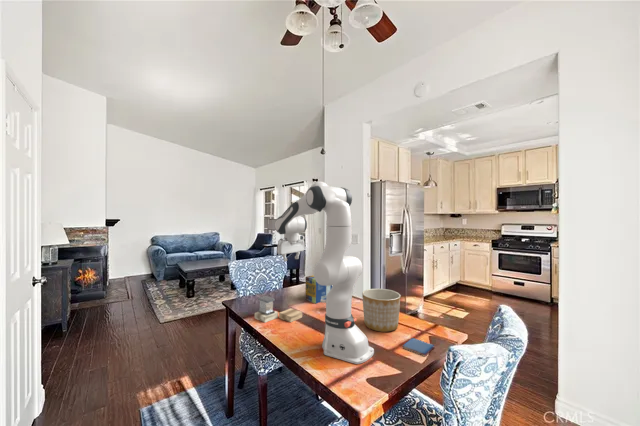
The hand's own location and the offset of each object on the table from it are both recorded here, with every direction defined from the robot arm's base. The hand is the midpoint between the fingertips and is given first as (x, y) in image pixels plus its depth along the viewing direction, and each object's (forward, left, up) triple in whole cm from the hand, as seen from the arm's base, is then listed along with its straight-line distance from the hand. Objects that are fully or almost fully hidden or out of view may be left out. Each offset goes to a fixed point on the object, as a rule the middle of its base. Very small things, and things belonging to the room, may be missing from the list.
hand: (291, 260), depth 166 cm
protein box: (-3, -23, -29) cm, 37 cm away
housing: (-1, +20, -26) cm, 33 cm away
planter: (-54, -12, -29) cm, 63 cm away
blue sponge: (-77, -1, -30) cm, 83 cm away
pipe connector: (-20, -12, -29) cm, 37 cm away
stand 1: (-1, +20, -29) cm, 35 cm away
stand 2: (-11, +11, -29) cm, 33 cm away
